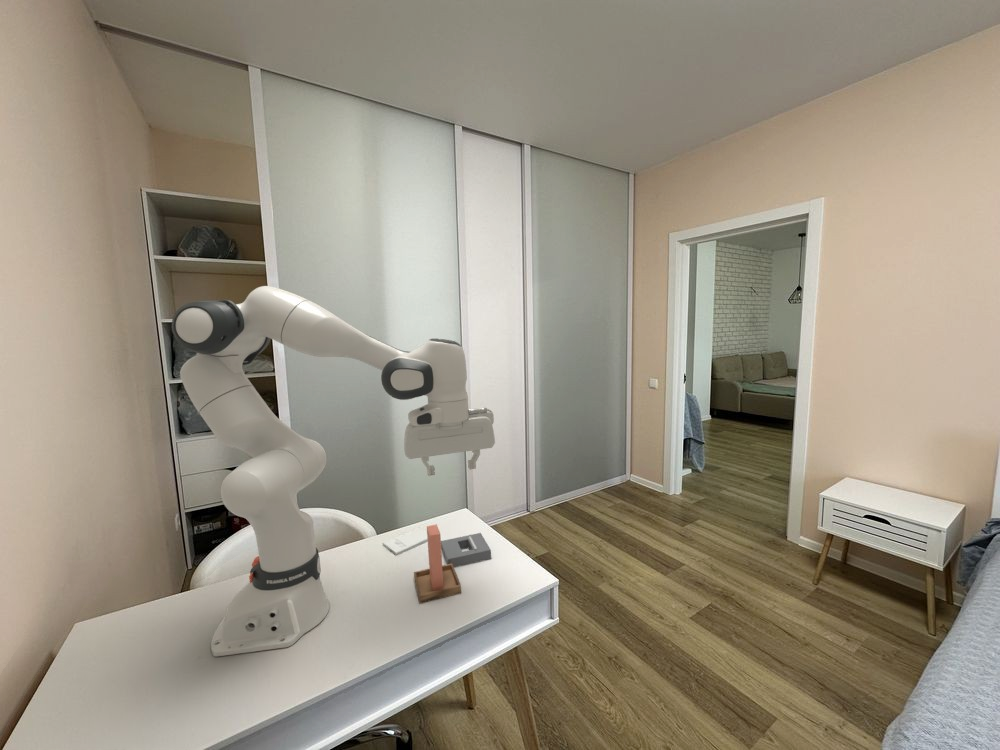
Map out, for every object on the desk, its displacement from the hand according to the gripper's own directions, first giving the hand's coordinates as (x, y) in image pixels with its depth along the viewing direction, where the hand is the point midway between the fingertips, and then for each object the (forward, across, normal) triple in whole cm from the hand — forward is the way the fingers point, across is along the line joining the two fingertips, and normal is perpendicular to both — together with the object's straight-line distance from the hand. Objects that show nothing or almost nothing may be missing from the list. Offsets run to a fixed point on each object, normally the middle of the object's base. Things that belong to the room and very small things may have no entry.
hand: (451, 471), depth 91 cm
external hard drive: (+32, +9, -31) cm, 45 cm away
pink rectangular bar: (+30, +4, -7) cm, 32 cm away
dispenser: (+31, -6, -18) cm, 36 cm away
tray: (+31, +4, -7) cm, 32 cm away
